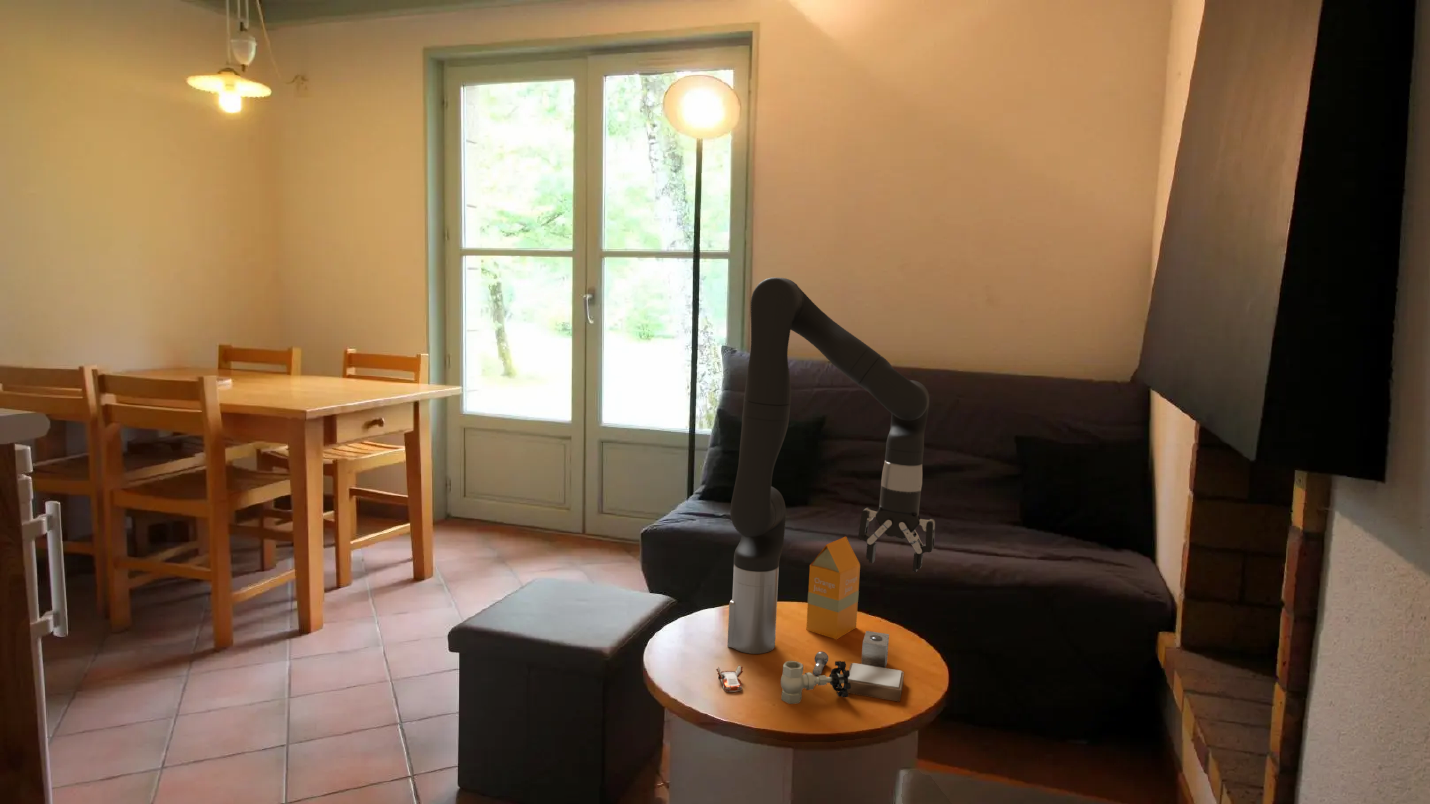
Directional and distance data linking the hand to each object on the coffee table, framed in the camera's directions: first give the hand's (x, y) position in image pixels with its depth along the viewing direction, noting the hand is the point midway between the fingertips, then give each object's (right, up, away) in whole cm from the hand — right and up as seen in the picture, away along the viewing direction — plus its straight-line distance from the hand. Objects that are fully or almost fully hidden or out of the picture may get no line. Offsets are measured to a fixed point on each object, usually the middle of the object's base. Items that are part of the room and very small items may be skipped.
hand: (893, 566), depth 164 cm
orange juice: (-9, -18, +21) cm, 29 cm away
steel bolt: (-14, -20, 0) cm, 25 cm away
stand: (-5, -21, -6) cm, 23 cm away
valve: (-17, -22, -11) cm, 30 cm away
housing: (-3, -20, +3) cm, 21 cm away
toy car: (-32, -21, -6) cm, 39 cm away
